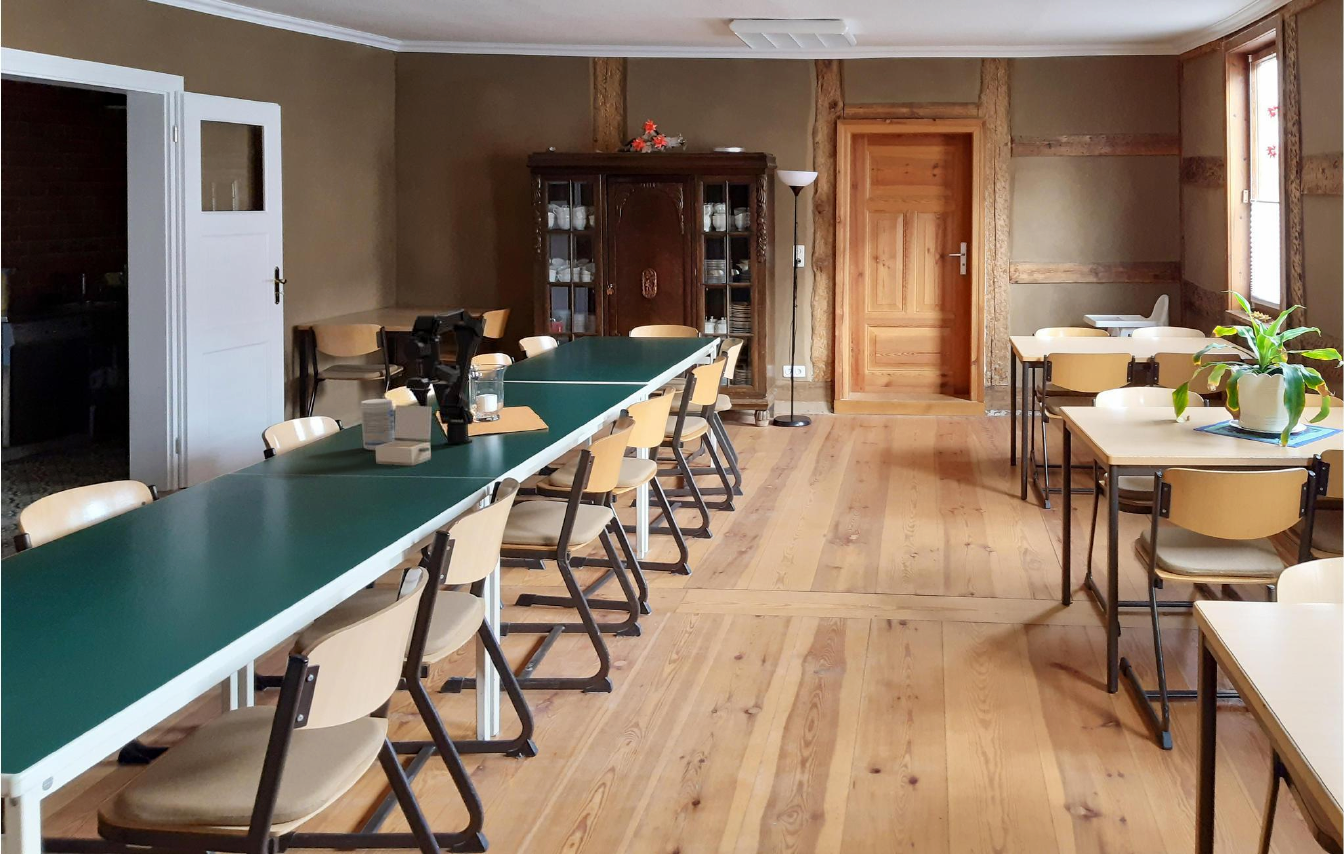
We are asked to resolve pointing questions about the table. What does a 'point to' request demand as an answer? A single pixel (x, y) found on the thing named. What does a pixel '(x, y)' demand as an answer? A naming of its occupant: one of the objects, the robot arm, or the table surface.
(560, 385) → the table surface
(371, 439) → the supplement tub
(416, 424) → the lid
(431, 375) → the robot arm
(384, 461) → the pot
